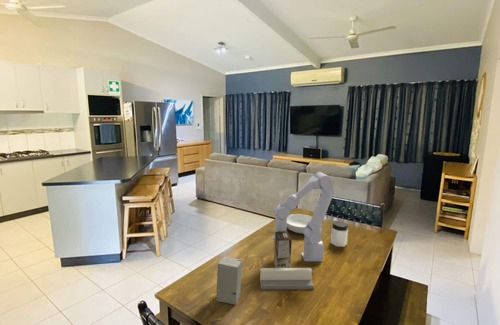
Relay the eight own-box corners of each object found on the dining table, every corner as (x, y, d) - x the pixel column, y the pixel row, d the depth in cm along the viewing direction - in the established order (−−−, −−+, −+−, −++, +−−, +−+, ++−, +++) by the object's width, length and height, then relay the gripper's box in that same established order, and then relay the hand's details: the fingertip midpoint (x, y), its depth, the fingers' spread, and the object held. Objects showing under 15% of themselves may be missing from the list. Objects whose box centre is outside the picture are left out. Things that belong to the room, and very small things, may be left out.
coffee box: (290, 272, 124) (292, 240, 121) (276, 272, 124) (278, 240, 120) (285, 260, 133) (287, 230, 130) (273, 261, 133) (274, 231, 129)
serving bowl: (278, 231, 167) (278, 221, 166) (292, 221, 184) (293, 211, 183) (309, 240, 155) (310, 229, 154) (322, 228, 172) (323, 218, 171)
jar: (327, 241, 155) (329, 221, 153) (338, 238, 158) (340, 219, 156) (338, 248, 147) (340, 227, 145) (350, 245, 150) (351, 225, 148)
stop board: (310, 280, 118) (310, 267, 117) (313, 289, 112) (314, 276, 111) (260, 280, 118) (260, 268, 116) (261, 289, 112) (261, 276, 111)
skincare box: (216, 301, 104) (215, 264, 101) (222, 290, 111) (222, 254, 108) (236, 305, 102) (236, 267, 99) (242, 294, 109) (242, 258, 106)
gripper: (271, 223, 139) (270, 247, 141) (274, 235, 125) (273, 262, 127) (284, 223, 139) (283, 247, 142) (289, 235, 125) (287, 262, 127)
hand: (279, 254), depth 134 cm, fingers closed
